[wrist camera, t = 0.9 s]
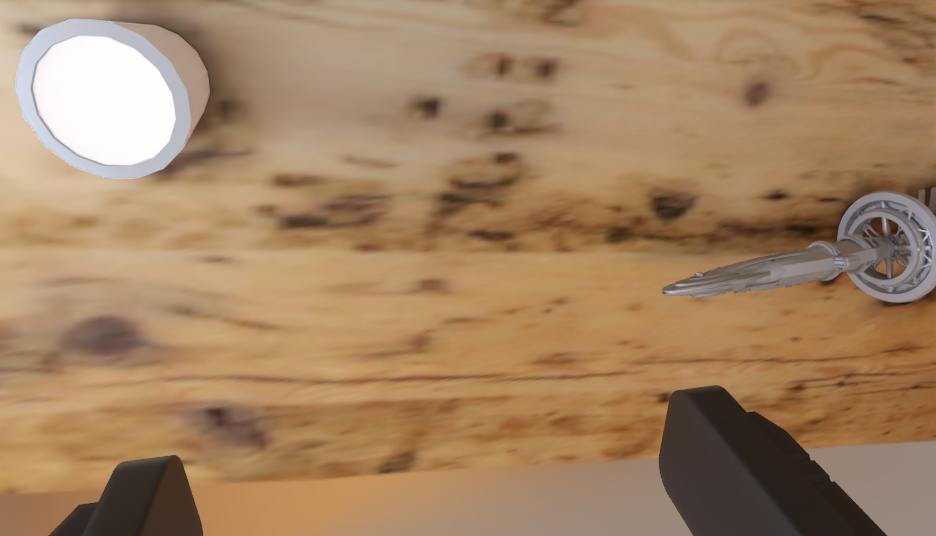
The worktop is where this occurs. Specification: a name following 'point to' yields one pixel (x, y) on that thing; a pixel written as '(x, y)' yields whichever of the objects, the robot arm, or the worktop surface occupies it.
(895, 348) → the worktop surface
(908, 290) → the spaceship
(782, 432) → the robot arm
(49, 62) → the beige white cylinder
